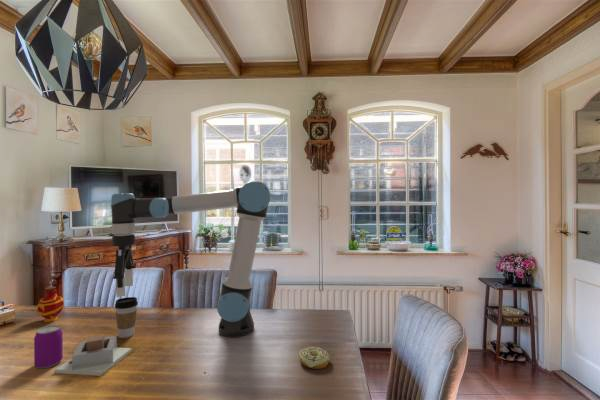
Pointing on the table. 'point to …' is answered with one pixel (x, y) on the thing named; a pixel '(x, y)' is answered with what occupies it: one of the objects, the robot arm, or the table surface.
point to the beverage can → (48, 346)
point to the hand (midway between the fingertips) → (125, 290)
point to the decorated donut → (314, 357)
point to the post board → (98, 370)
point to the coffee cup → (126, 316)
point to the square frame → (94, 354)
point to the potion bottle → (50, 305)
